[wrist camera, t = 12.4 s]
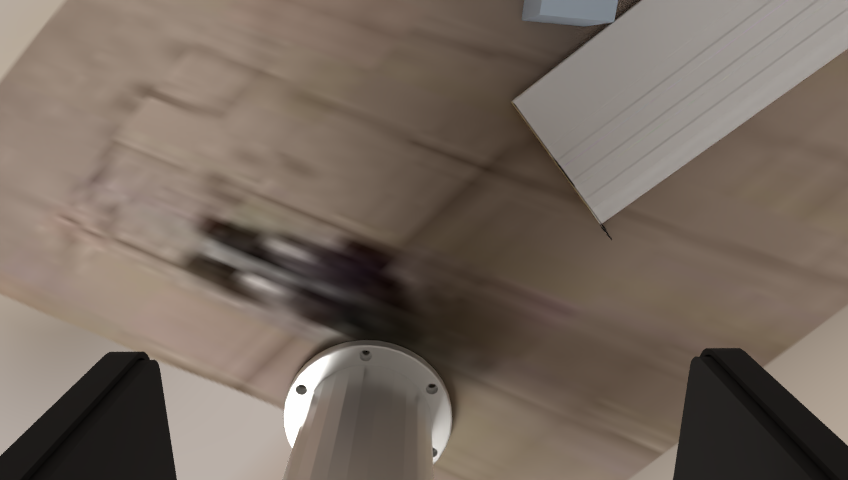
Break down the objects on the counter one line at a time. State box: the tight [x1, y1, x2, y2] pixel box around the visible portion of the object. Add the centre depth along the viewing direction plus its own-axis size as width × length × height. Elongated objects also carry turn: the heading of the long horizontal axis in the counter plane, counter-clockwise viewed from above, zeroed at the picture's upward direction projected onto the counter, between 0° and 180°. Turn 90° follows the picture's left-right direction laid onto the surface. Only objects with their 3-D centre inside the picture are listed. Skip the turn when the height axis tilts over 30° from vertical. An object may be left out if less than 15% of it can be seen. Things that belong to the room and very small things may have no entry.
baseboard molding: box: [511, 0, 848, 240], centre depth 36 cm, size 31×3×12 cm
